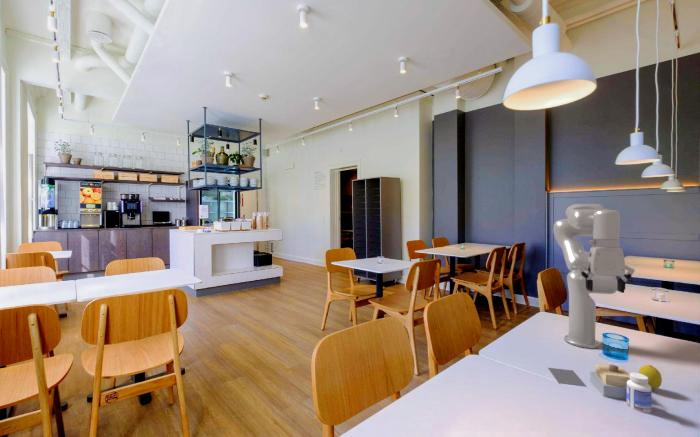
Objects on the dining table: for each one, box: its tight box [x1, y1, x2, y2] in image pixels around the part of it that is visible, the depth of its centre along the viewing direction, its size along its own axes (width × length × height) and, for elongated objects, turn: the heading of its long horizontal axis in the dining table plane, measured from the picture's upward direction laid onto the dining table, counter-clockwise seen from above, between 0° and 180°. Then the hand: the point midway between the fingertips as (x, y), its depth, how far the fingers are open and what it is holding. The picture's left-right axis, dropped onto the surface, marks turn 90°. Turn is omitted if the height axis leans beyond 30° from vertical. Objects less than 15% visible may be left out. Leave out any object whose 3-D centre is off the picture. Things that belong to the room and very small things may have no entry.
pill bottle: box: [625, 372, 652, 414], centre depth 94 cm, size 5×5×10 cm
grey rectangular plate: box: [547, 367, 587, 388], centre depth 111 cm, size 11×8×1 cm
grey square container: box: [589, 371, 627, 400], centre depth 103 cm, size 9×9×4 cm
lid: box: [594, 363, 630, 387], centre depth 103 cm, size 7×7×4 cm
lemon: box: [638, 364, 663, 391], centre depth 104 cm, size 6×6×8 cm
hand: (604, 290), depth 118 cm, fingers open, 9 cm apart
